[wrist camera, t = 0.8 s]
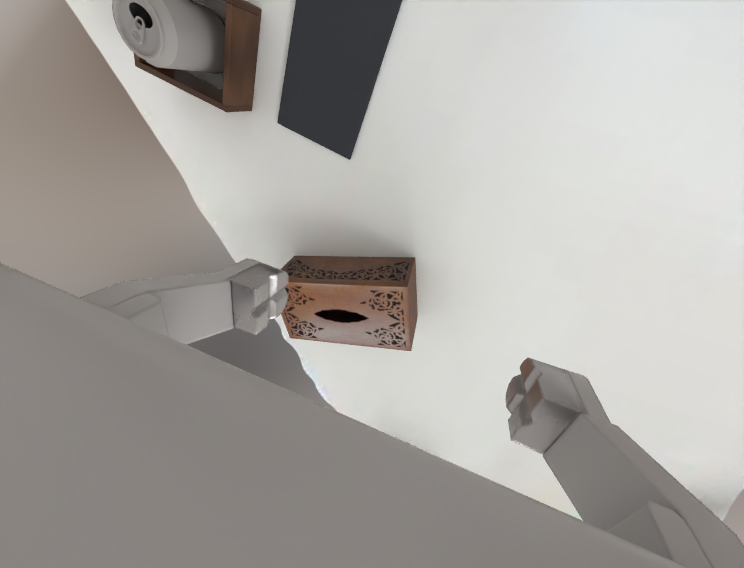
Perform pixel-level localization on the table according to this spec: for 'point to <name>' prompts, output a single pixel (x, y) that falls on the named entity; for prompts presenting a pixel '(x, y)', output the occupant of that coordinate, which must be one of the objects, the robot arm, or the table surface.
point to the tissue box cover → (352, 300)
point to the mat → (334, 68)
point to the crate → (237, 62)
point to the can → (172, 33)
